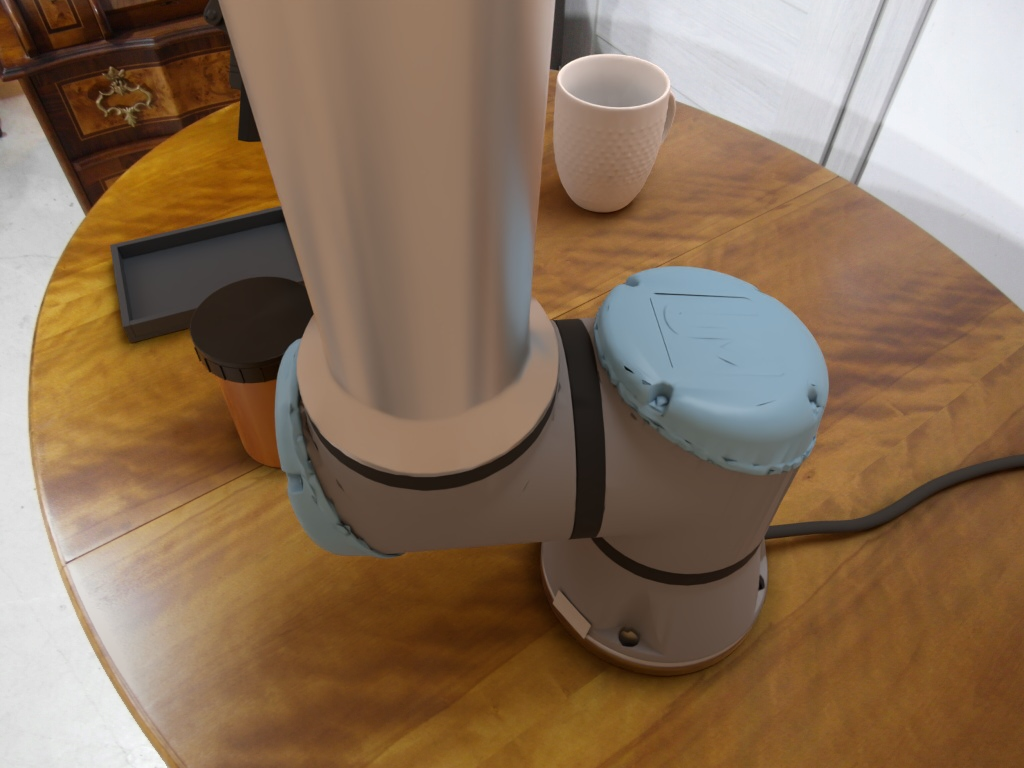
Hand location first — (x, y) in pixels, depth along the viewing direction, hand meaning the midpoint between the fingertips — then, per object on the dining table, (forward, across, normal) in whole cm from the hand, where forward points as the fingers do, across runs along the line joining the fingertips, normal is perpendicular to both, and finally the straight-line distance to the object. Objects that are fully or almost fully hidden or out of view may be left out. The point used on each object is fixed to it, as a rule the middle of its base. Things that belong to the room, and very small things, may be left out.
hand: (341, 158), depth 56 cm
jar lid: (+11, +3, +7) cm, 14 cm away
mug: (+1, -21, -30) cm, 36 cm away
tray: (+14, +14, -13) cm, 24 cm away
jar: (+21, +1, +2) cm, 21 cm away
